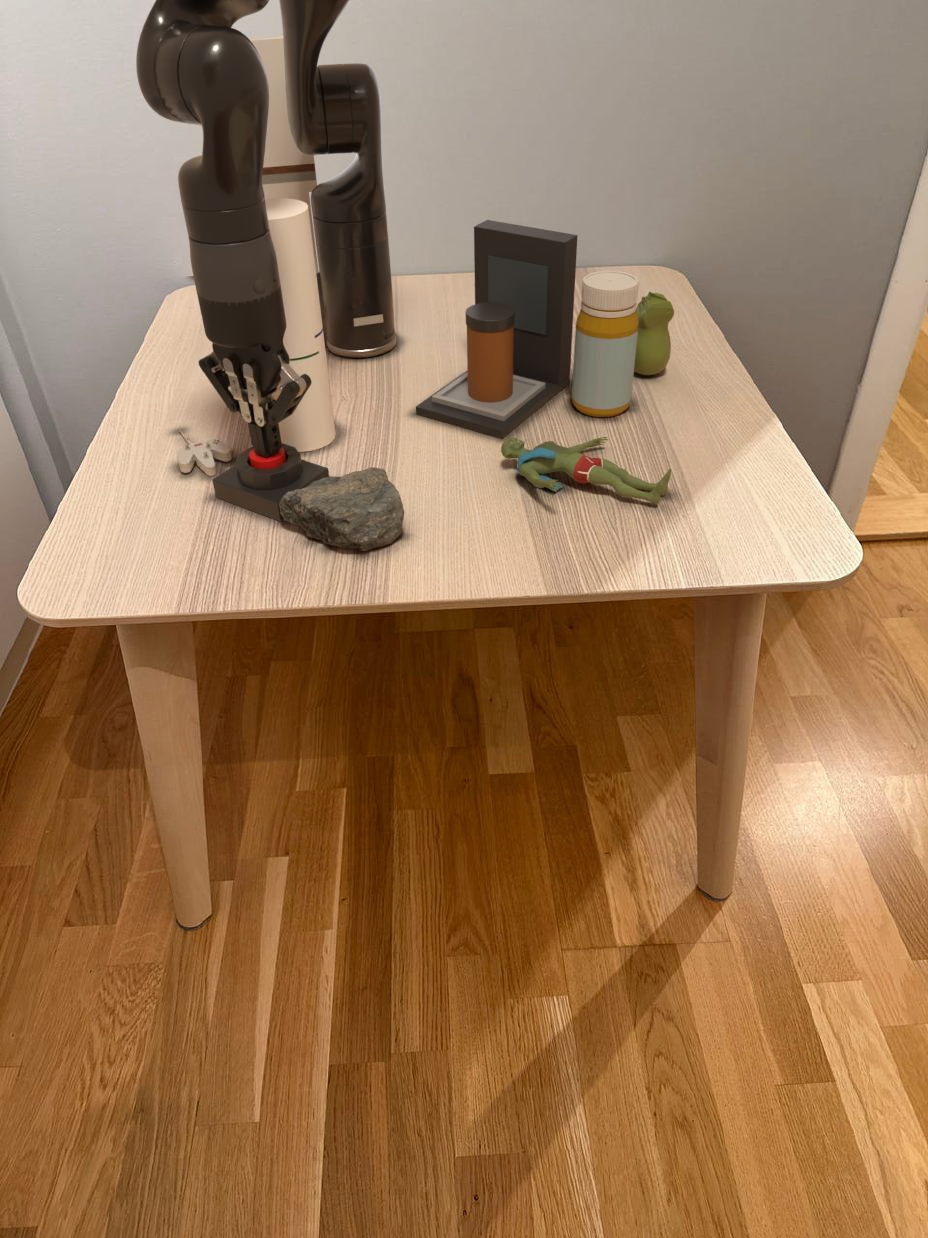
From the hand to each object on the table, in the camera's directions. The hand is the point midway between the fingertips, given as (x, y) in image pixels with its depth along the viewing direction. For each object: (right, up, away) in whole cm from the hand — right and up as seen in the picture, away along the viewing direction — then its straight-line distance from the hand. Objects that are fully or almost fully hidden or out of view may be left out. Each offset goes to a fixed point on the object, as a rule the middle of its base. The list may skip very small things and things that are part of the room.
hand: (268, 452), depth 95 cm
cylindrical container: (+2, +4, +12) cm, 13 cm away
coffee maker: (+24, +10, +19) cm, 32 cm away
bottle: (+36, +9, +17) cm, 41 cm away
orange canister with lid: (+23, +10, +17) cm, 31 cm away
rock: (+8, -8, -3) cm, 12 cm away
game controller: (-10, +2, +10) cm, 14 cm away
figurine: (+32, -3, +3) cm, 33 cm away
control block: (0, -4, +3) cm, 5 cm away
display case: (-5, +28, +42) cm, 50 cm away
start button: (0, -1, +1) cm, 2 cm away
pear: (+43, +14, +23) cm, 51 cm away
